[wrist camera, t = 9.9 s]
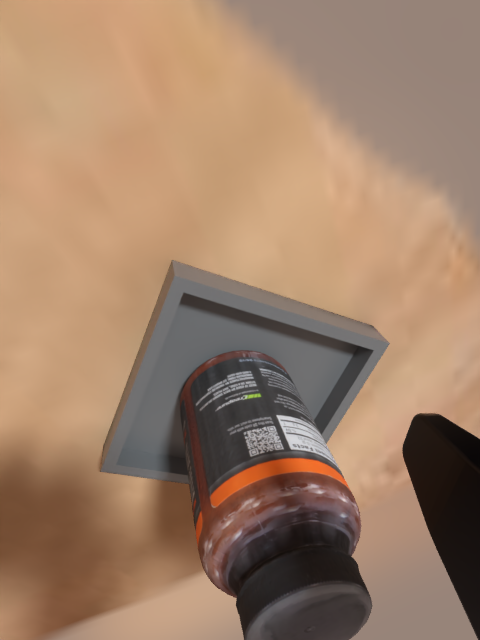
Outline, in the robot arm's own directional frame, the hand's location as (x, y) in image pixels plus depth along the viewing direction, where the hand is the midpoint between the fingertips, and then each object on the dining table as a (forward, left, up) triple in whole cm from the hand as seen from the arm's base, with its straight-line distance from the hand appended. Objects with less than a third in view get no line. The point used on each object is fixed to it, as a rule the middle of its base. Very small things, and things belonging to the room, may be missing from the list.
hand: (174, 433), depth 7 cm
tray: (+3, -9, -12) cm, 15 cm away
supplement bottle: (+3, -9, -12) cm, 15 cm away
